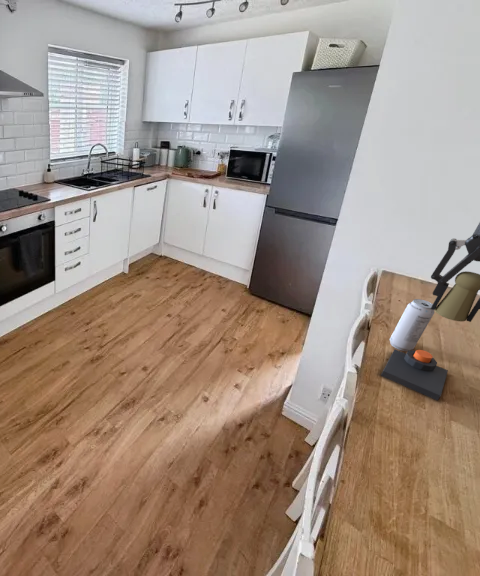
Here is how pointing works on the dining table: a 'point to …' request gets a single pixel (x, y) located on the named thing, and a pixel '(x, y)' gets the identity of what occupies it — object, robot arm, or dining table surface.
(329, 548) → the dining table surface
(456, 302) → the cork
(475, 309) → the robot arm
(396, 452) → the dining table surface
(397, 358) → the scale
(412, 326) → the energy drink can
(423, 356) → the button
